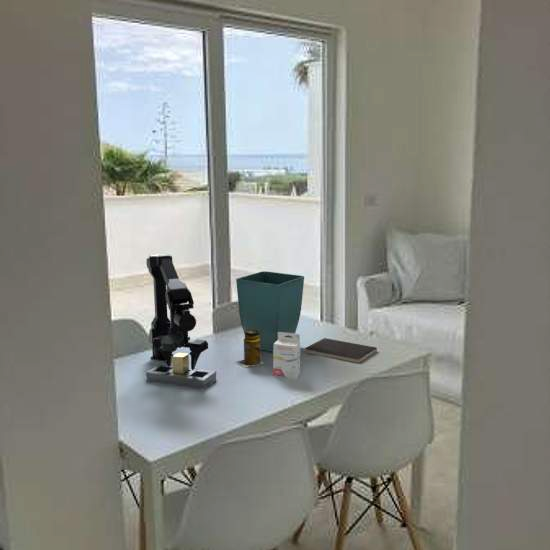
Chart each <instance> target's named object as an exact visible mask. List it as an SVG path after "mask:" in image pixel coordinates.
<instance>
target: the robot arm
mask: <svg viewBox="0 0 550 550" xmlns="http://www.w3.org/2000/svg"><path fill="white" fill-rule="evenodd" d="M146 267H147V269H148V270H147V271H148V273H149V275H151V277H152V278H153V281H152V282H153V296H154V317H153V320H152V321H151V322H150V329H149V333H148V342H149V343H150V345H152V346H151V347H152V350H151V351H152V355H151V356H150V357H149V358H150V359H151V360H157V361H165V364H166V365H167V366H168V367H170V366H171V365H172V356H173V355H174V354H173V352H176V351H177V350H178V349H182V348H188V349H189V351H190V352H189V353H188V354H189V355H190V368H191V369H192V370H194V368H196V366H197V362H198V360H199V358H200V356H201V355H202V353H203V352H204V351H206V350H209V343H208V341H207V340H205V339H195V340H194V341H190V340H191V336H189V332H191V331H192V330H194V329H195V327H196V325H197V319H196V317H195V316H194V315H193V314H192V313H191V309H194V304H195V301H194V299H193V296H192V292H191V291H190V289H189V288H188V286H187V285H186V283H185V282H183V281H182V280H180V278H179V275H178V273H177V271H176V270H177V269H176V267H175V265H174V262H173V255H172V254H167V253H165V254H153V255H149V256H148V258H146ZM168 310H169V317H168Z"/></svg>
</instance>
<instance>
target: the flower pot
mask: <svg viewBox="0 0 550 550" xmlns="http://www.w3.org/2000/svg"><path fill="white" fill-rule="evenodd" d="M235 282H236V294H237V303H238V312H239V313H238V314H239V319H240V324H241V327H242V330H243V334H244V335H245V331H247V330H257V331H259V338H260V350H262V351H267V352H271V353H273V344H274V343H275V342H276V341H277V340H278V332H285V333H294V334H296V332H297V329H298V325H299V321H300V317H301V314H302V313H301V311H302V305H303V304H302V303H303V296H304V295H303V294H304V286H305V285H304V283H305V276H304V275H299V274H291V273H282V272H274V271H263V270H262V271H259V272H256V273H252V274H248V275H245V276H241V277H238V278H235ZM285 337H287V338H292V336H289V335H288V336H285Z"/></svg>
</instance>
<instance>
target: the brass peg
mask: <svg viewBox="0 0 550 550" xmlns="http://www.w3.org/2000/svg"><path fill="white" fill-rule="evenodd" d="M189 355H190V354H189V353H187V352H186V353H184V352H177V353H175V354H173V356H172V357H171V364H172V365H173V374H179V375H185V374H186V373H188V372H189V368H190V356H189Z"/></svg>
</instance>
